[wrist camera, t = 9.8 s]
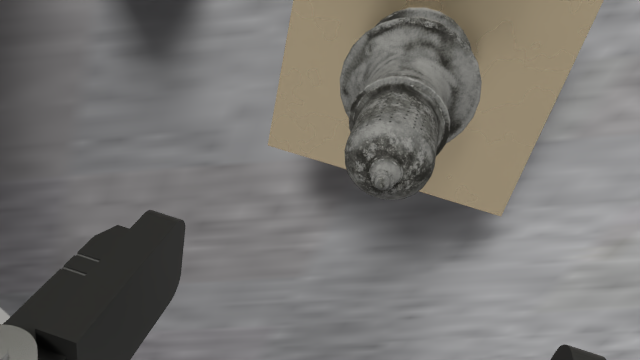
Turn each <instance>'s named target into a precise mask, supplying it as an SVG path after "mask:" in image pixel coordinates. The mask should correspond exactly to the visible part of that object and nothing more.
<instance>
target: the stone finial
mask: <svg viewBox="0 0 640 360" xmlns="http://www.w3.org/2000/svg"><path fill="white" fill-rule="evenodd" d="M481 84H482V81H481V75H480V70H479V65H478V62H477V60H476V58H475V56H474V54H473V52H472V49H471V44H470V42H469V40H468V38H467V36H466V34H465V32H464V30H463V29H462V28H461V27H460V26H459V25H458V24H457V23H456V22H455V21H454V20H453V19H452V18H450V17H448V16H447V15H445V14H443V13H442V12H440V11H436V10H432V9H429V8H406V9H403V10H399V11H395V12H393V13H392V14H390V15H388V16H387V17H385V18H383V19H381V21H380V22H379V23H378V24H377V25H376V26H375V27H374V28H372V29H370V30H369V31H367V32H365V33H364V34H363V36H362V37H361V38H360V39H359V40H358V41H357V42H356V43H355V44H354V45H353V46H352V48H351V50H350V51H349V53H348V55H347V57H346V59H345V60H344V63H343V67H342V71H341V76H340V96H341V100H342V103H343V106H344V109H345V112H346V114H347V116H348V117H349V129H350V132H351V133H350V135H349V137H348V140H347V143H346V147H345V150H344V151H345V166H346V169H347V172H348V174H349V176H350V177H351V179H352V180H353V182H354V183H355V184H356V185H357V186H358V187H359V188H360V189H361V190H363V191H364V192H366V193H368V194H370V195H371V196H374V197H377V198H381V199H388V200H397V199H404V198H407V197H409V196H412V195H414V194H415V193H417V192H418V191H419V190H421V189H422V188H423V187H424V186H425V184H426V183H427V182H428V180H429V179H430V177H431V175H432V173H433V170H434V167H435V159H436V156H437V155H438V154H439V153H440V151H441V150H442V149H443V147H444V146H445V145H446V143H448V142H450V141H451V140H452V139H454V138H455V137H456V136H457V135H459V134H460V133H461V132H462V131H463V130H464V129H465V128H466V126H467V125H468V124H469V122H470V121H471V120H472V118H473V117H474V114H475V112H476V109H477V107H478V104H479V102H480V95H481Z"/></svg>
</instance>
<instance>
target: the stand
mask: <svg viewBox="0 0 640 360" xmlns="http://www.w3.org/2000/svg"><path fill="white" fill-rule="evenodd" d="M602 3H603V0H293V6H292V12H291V17H290V23H289V29H288V34H287V40H286V46H285V51H284V57H283V63H282V68H281V74H280V79H279V85H278V91H277V96H276V102H275V108H274V113H273V119H272V125H271V130H270V136H269V142H268V145H269V146H272V147H275V148H278V149H282V150H285V151H288V152H291V153H295V154H298V155H301V156H305V157H308V158H311V159H314V160H318V161H321V162H324V163H328V164H331V165H334V166H337V167H341V168H344V169H346V166H345V151H344V150H345V147H346V143H347V140H348V137H349V135H350V133H351V132H350V129H349V117H348V116H347V114H346V112H345V109H344V106H343V103H342V100H341V96H340V76H341V71H342V67H343V63H344V60H345V59H346V57H347V55H348V53H349V51H350V50H351V48H352V46H353V45H354V44H355V43H356V42H357V41H358V40H359V39H360V38H361V37H362V36H363V34H364V33H365V32H367V31H369V30H370V29H372V28H374V27H375V26H376V25H377V24H378V23H379V22H380V21H381V19H383V18H385V17H387V16H388V15H390V14H392V13H393V12H395V11H399V10H403V9H406V8H429V9H432V10H436V11H440V12H442V13H443V14H445V15H447V16H448V17H450V18H452V19H453V20H454V21H455V22H456V23H457V24H458V25H459V26H460V27H461V28H462V29H463V30H464V32H465V34H466V36H467V38H468V40H469V42H470V44H471V49H472V52H473V54H474V56H475V58H476V60H477V62H478V65H479V70H480V75H481V81H482V84H481V95H480V102H479V104H478V107H477V109H476V112H475V114H474V117H473V118H472V120H471V121H470V122H469V124H468V125H467V126H466V128H465V129H464V130H463V131H462V132H461V133H460V134H459V135H457V136H456V137H455V138H454V139H452V140H451V141H450V142H448V143H446V145H445V146H444V147H443V149H442V150H441V151H440V153H439V154H438V155H437V156H436V159H435V167H434V170H433V173H432V175H431V177H430V179H429V180H428V182H427V183H426V184H425V186H424V187H423V188H422V189H421V190H419V192H423V193H426V194H429V195H432V196H436V197H439V198H442V199H446V200H449V201H452V202H455V203H459V204H462V205H465V206H468V207H472V208H475V209H478V210H482V211H485V212H488V213H491V214H495V215H498V216H501V215H502V213H503V211H504V209H505V207H506V205H507V203H508V201H509V199H510V196H511V194H512V192H513V190H514V188H515V186H516V184H517V182H518V180H519V177H520V175H521V173H522V171H523V169H524V167H525V165H526V163H527V161H528V158H529V156H530V154H531V152H532V150H533V148H534V146H535V144H536V142H537V140H538V137H539V135H540V133H541V131H542V129H543V127H544V125H545V123H546V121H547V118H548V116H549V114H550V112H551V110H552V108H553V106H554V104H555V102H556V99H557V97H558V95H559V93H560V91H561V89H562V87H563V85H564V83H565V80H566V78H567V76H568V74H569V72H570V70H571V68H572V66H573V64H574V62H575V59H576V57H577V55H578V53H579V51H580V49H581V47H582V45H583V43H584V40H585V38H586V36H587V34H588V32H589V30H590V28H591V26H592V24H593V21H594V19H595V17H596V15H597V13H598V11H599V9H600V7H601V5H602Z"/></svg>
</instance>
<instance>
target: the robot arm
mask: <svg viewBox="0 0 640 360" xmlns="http://www.w3.org/2000/svg"><path fill="white" fill-rule="evenodd" d="M184 235H185V223H184V221H183V220H181V219H177V218H174V217H171V216H168V215H165V214H162V213H159V212H156V211H153V210H149V211H147V212H145V213H144V214H143V215H142V216H141V218H140V219H139V220H138V221H137V222H136V223H135V224H134V225H133V226H132V227H131V228H130V229H129V228H125V227H122V226H119V225H117V226H115V227H113V228H110V229H108V230H106V231H104V232H102V233H100V234H98V235H95V236H94V237H93V238H92V239H91V240H90V241H89V242H88V243H87V244H86V245H85V246H84V247H83V248H81V249H80V250H79V251H78V253H77V255H76V256H73V257H72V258H71V259H70V260H69V261H68V262H67V263H66V264H65V265H64V267H63V269H60V270H59V271H58V272H57V273H56V274H55V275H54V276H53V277H52V278H51V279H49V280H48V281H47V282H46V283H45V284H44V285H43V286H42V287H41V288H40V289H39V290H38V291H37V292H36V293H35V294H34V295H33V296H32V297H31V298H30V299H29V300H28V301H27V302H26V303H25V304H24V305H23V306H22V307H21V308H20V309H19V310H17V311H16V312H15V313H14V314H13V315H12V316H11V317H10V318H9V319H8V320H7V321H6V322H5V323H4V324H2V325H1V324H0V360H130V359H131V358H132V356H133V355H134V353H135V352H136V351H137V349H138V348H139V346H140V345H141V343H142V342H143V340H144V339H145V338H146V336H147V335H148V333H149V332H150V330H151V329H152V327H153V326H154V325H155V323H156V322H157V320H158V319H159V317H160V316H161V314H162V313H163V312H164V310H165V309H166V307H167V306H168V304H169V303H170V301H171V300H172V298H173V296H174V294H175V292H176V289H177V287H178V284H179V280H180V276H181V267H182V256H183V246H184ZM551 360H606V359H605V358H604V357H602V356H600V355H596V354H593V353H590V352H587V351H584V350H581V349H578V348H575V347H572V346H568V345H562V346H560V347H559V348H558V349H557V351H556V352H555V354H554V355H553V357H552V358H551Z"/></svg>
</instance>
